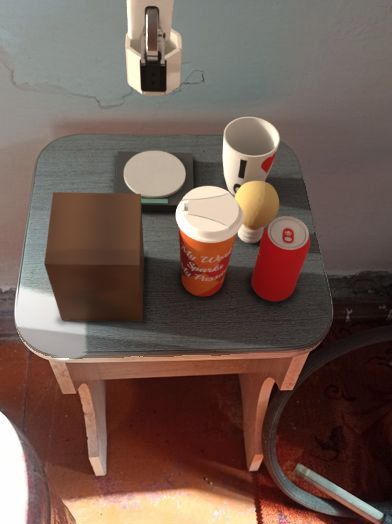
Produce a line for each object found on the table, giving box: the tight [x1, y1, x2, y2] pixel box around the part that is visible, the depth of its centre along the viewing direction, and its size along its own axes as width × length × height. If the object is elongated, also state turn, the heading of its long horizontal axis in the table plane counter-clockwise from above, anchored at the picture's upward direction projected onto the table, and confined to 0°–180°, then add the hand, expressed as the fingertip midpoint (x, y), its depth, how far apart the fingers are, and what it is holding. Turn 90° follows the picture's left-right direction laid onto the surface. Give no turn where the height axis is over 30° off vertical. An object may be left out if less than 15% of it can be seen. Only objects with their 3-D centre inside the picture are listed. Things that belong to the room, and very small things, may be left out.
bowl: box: [124, 27, 183, 97], centre depth 70 cm, size 7×7×5 cm
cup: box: [222, 116, 281, 197], centre depth 85 cm, size 8×8×10 cm
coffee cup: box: [175, 185, 244, 297], centre depth 74 cm, size 8×8×15 cm
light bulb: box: [234, 181, 280, 244], centre depth 81 cm, size 6×6×10 cm
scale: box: [114, 150, 195, 213], centre depth 88 cm, size 12×11×2 cm
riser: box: [43, 191, 145, 322], centre depth 74 cm, size 11×11×13 cm
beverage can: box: [251, 215, 311, 302], centre depth 76 cm, size 6×6×12 cm
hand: (153, 69), depth 72 cm, fingers closed on bowl, 6 cm apart
